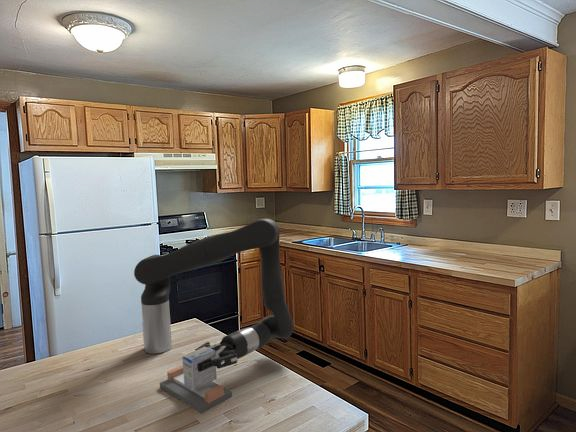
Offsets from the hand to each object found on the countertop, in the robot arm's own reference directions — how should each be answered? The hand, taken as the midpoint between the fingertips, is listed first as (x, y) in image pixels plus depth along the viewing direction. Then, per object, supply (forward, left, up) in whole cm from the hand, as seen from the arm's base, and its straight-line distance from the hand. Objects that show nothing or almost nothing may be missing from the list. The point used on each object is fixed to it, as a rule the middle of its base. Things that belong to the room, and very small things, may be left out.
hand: (192, 365), depth 107 cm
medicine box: (0, +2, -6) cm, 7 cm away
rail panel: (-3, +2, -10) cm, 10 cm away
